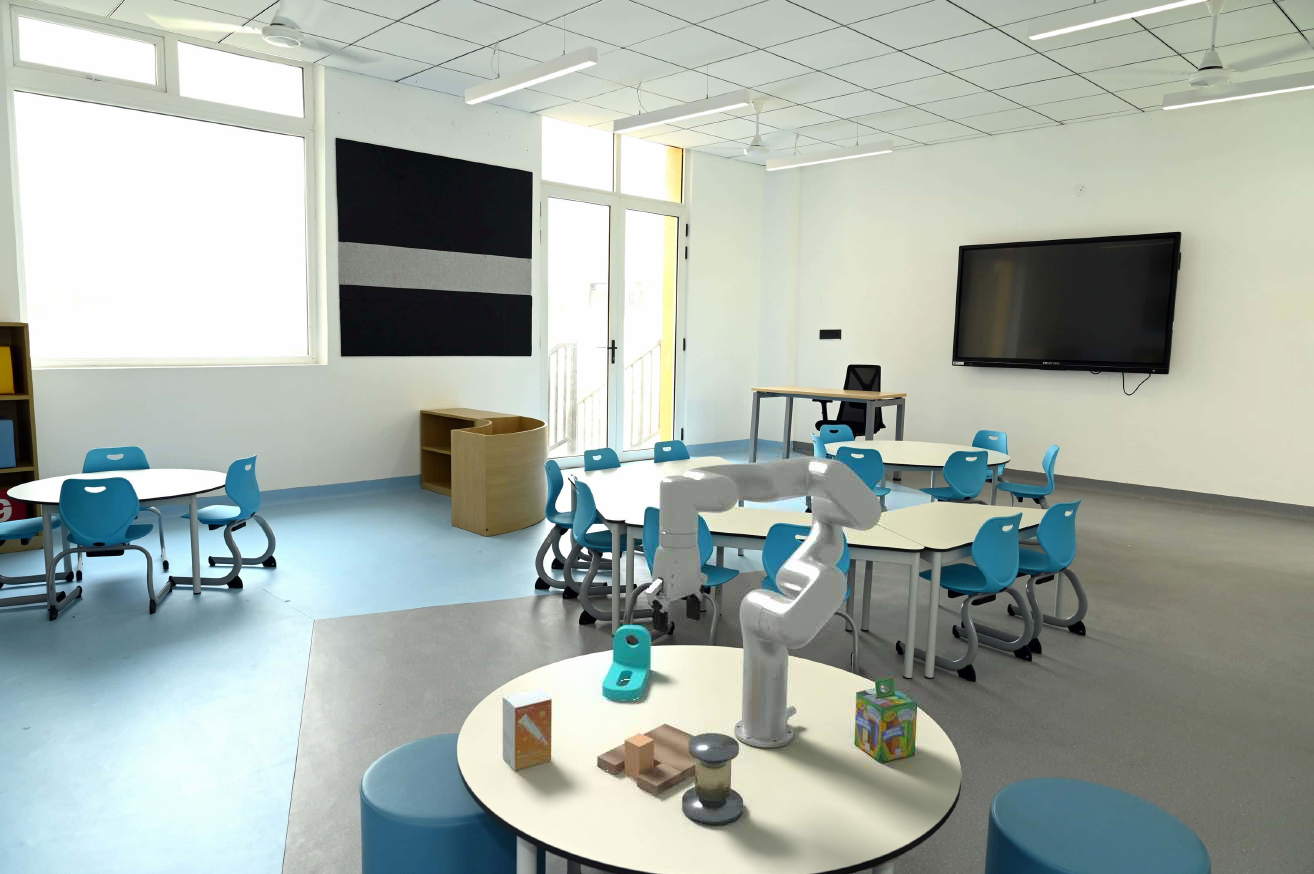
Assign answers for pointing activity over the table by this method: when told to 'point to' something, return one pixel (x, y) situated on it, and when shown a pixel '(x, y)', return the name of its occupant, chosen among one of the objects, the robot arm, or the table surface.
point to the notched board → (657, 760)
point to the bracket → (628, 664)
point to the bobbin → (713, 781)
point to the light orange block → (638, 755)
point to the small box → (527, 728)
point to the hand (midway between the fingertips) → (677, 624)
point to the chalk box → (885, 722)
